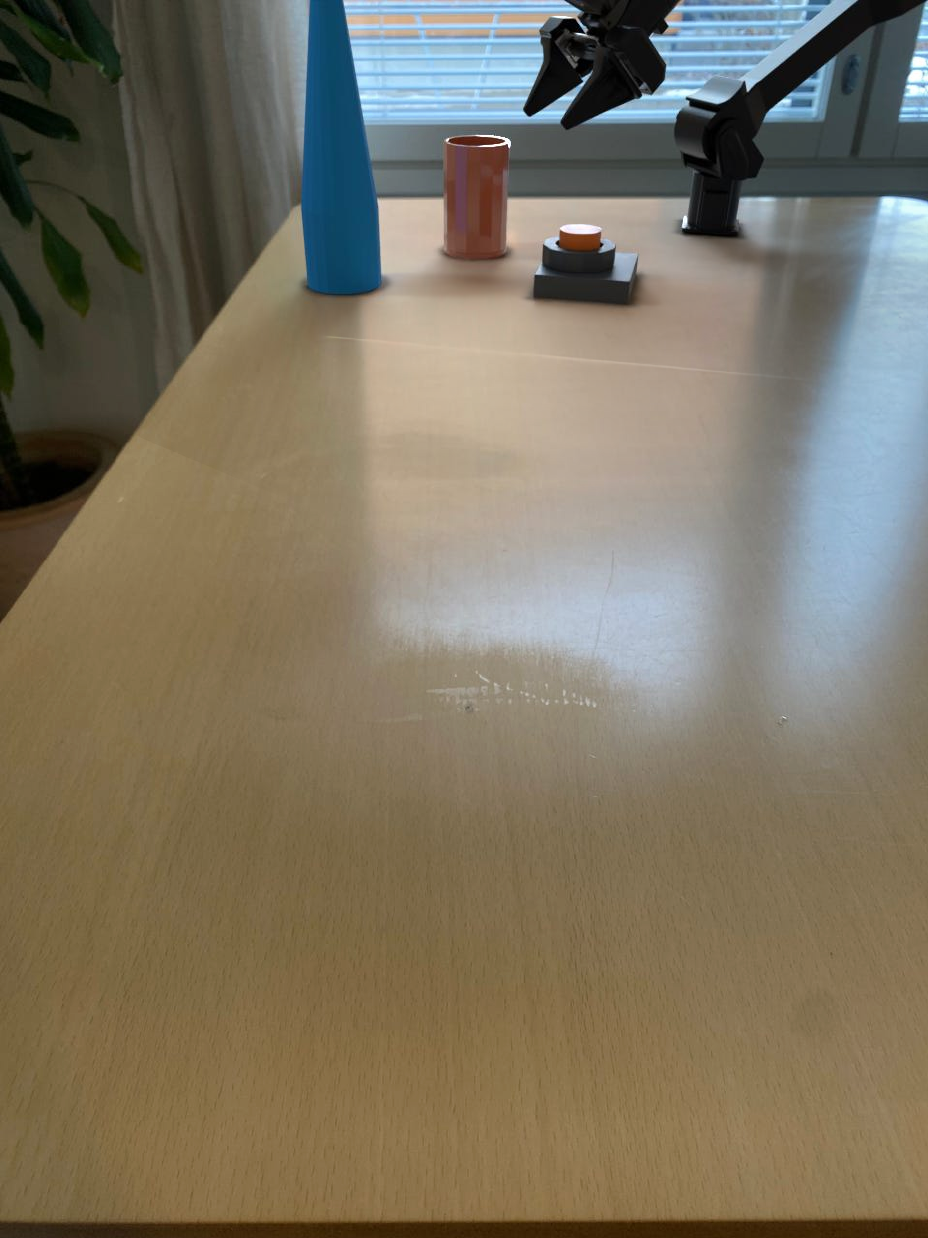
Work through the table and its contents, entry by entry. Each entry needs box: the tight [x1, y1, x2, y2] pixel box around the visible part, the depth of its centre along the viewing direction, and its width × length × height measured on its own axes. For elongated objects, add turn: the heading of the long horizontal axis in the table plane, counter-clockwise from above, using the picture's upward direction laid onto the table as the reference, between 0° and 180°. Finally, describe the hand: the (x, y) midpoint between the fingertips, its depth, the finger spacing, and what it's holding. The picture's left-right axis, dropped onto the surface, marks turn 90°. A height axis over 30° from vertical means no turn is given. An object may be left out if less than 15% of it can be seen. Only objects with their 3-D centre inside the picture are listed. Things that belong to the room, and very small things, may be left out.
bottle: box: [300, 0, 383, 295], centre depth 85 cm, size 7×7×30 cm
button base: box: [532, 235, 639, 306], centre depth 92 cm, size 10×9×4 cm
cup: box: [442, 134, 511, 260], centre depth 101 cm, size 7×7×11 cm
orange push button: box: [558, 223, 602, 250], centre depth 91 cm, size 4×4×2 cm
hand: (543, 119), depth 99 cm, fingers open, 9 cm apart
